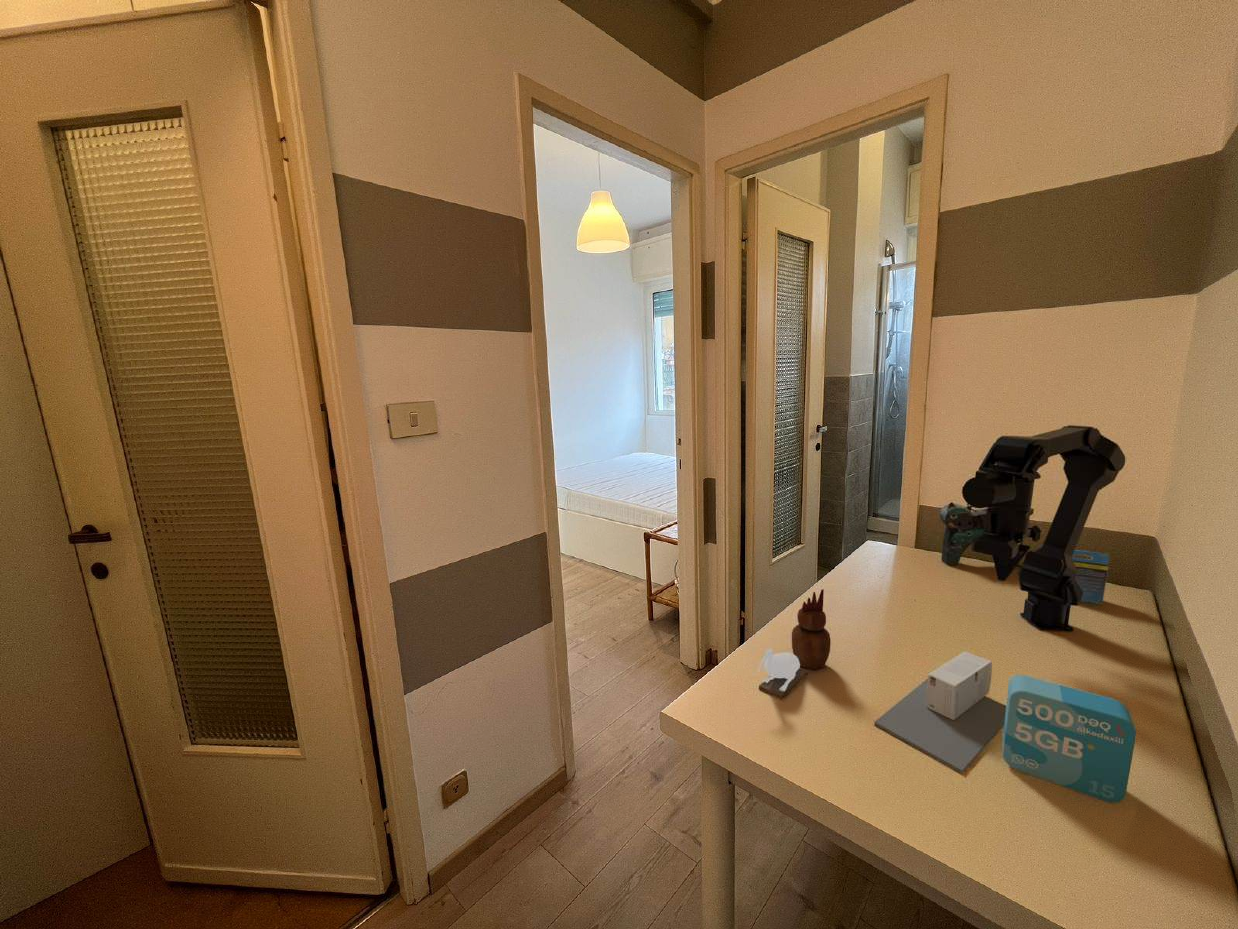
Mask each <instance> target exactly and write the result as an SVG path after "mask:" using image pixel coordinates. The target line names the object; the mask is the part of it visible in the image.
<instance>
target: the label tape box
mask: <svg viewBox="0 0 1238 929" xmlns="http://www.w3.org/2000/svg"><path fill="white" fill-rule="evenodd" d="M1082 555H1083V556H1085V557H1088V558H1082V557H1081V558H1080V556H1082ZM1075 556H1079V557H1075ZM1072 558H1073V561H1074V564H1075V567H1076V569H1077V575H1076V578H1075V580H1076V582H1077V583H1078V585H1079V586H1080V588H1081V589H1082V591H1083V595H1082V599H1081V601H1080V602H1082V603H1088V602H1090V603H1089V604H1094V603H1095V605H1100V604H1101V605H1102V606H1103V602H1104V596H1105V591H1106V585H1107V579H1108V574H1109V569H1110V567H1109V566H1110V565H1109V563H1110V553H1101V552H1094V551H1086V550H1078V549H1075V550H1074V553H1073V555H1072ZM1089 558H1090V559H1089Z"/></svg>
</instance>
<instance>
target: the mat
mask: <svg viewBox="0 0 1238 929" xmlns="http://www.w3.org/2000/svg"><path fill="white" fill-rule="evenodd" d="M927 686H928V678H926V679H925V680H924V681H922V682H921V684H919V685H918V686H916V687H915V688H914V689H913V690H912V691H911V692H909V693H908V694H907V695H905V696H904V697H903V698H902V699H900V700H899V701H898V702H897V703H896V704H894V706H892V707H890V709H889V710H887V711H885V713H884V714H882V715H881V716H880V717H878V718H877V719H876V720H874V723H873V724H874V726H876V727H878V728H879V729H882V730H883V731H885V732H887V733H889V734H890V735H892V736H894V737H896V738H898V739H899V740H900V741H903V742H904V743H906V744H908V745H910V746H912V747H914V748H915V749H917V750H919V751H921V752H922V753H924V754H926V755H928V756H929V757H930V758H931V757H932V758H933V759H935V760H937V761H939V763H942V764H944V765H946V766H947V767H949V768H951V769H953V770H955V771H956V772H958V773H959V774H963V773H964V772H965V771H966V769H967V768H969V766H970V765H971V764H972V763H973V762H974V761H975V760H976V759H977V757H978V756H979V755H980V754H981V753H982V752H983V750H984V749H985V748H986V747H987V746H988V745H989V743H991V741H992V740H993V739H994V738H995V736H997V735H998V733H999V732H1000V731H1001V730H1002V729H1003V728H1004V721H1005V713H1006V704H1003V703H1001V702H998V701H996V700H994V699H993V698H989V697H987V696H984V697H983V698H982V699H980V700H979V701H978V702H976V703H975V704H974V705H973V706H971V707H970V708H969V709H967V710H966V711H965V712H964V713H962V714H961V715H960V716H958V717H957V718H956V719H955V720H952V719H950V718H948V717H945V716H943V715H941V714H939V713H937V712H935V711H933V710H931V709H929V708H927V707H926V702H927V694H926V689H927Z"/></svg>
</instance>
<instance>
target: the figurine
mask: <svg viewBox="0 0 1238 929" xmlns="http://www.w3.org/2000/svg"><path fill="white" fill-rule="evenodd" d="M762 665H763V670H765V672H766V673H767V674H768V675H769V676H768V677H767V678H764V679H763V680H761V681H762V683H760V684H759V686H758V690H761V691H762V692H764V691H765V692H764V693H766V692H767V694H769V695H770V696H771V695H772V696H773V697H775V698H778V699H780V700H785V698H786V697H787V696H788V695H789V694H790V693H791V692H792V691H793V690H794V689H795V688H796V687H797V686H798V685H799V684H800V683H801V682H802V681H803V680H804V679H805V678H806V677H807V676H808V674H809V673H808V672H809V671H808V670H806V669H803V668H801V667H800V666H801V665H800V663H799V659H798V658H797V657H796V656H795V655H794V654H793V653H791V652H776V653H774V650H773V649H772V648H767V649H766V650H765V654H764V655H763V657H762V659H761V661H760V663H759V666H758V670H757V676H759V674H760V670H761V667H762ZM806 675H807V676H806ZM805 676H806V677H805ZM804 677H805V678H804ZM803 678H804V679H803ZM800 681H801V682H800ZM799 682H800V683H799ZM797 684H798V685H797Z"/></svg>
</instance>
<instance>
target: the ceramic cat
mask: <svg viewBox="0 0 1238 929" xmlns="http://www.w3.org/2000/svg"><path fill="white" fill-rule="evenodd" d="M966 504H967V505H966V506H963V505H961V504H957V503H954V502H952V501H951V502H949V503H948V504H946V505H944V506H943V507H941V510H940V513H939V516H940V517H939V518H940V520H941V522H942V523H943V524H944V525H945V530H944V533H943V538H942V548H941V561H942V563H944V564H945V565H946V566H947V567H948V566H952V567H953V566H954V567H957V566H959V565H960V560H961V558H962V556H963V553H964V552H965V550H967V548H969V547H970V546H971V545H972V540H974V539H976V538H977V537H979V536H981V535H983V534H988V533H983V529H982V530H972V531H966V532H959V530H958V527H957V526H954V522H955V519H954V518H955V517H956V516H957V515H958V513H960V512H963V513H965V512H968V511H969V512H970V513H973V512H981V511H987V508H988V507H987V508H977V509H974V508H973V507H972V506H970V505H969V504H968V503H967V502H966ZM990 535H994V534H990ZM1019 541H1022V542H1021V544H1022V545H1023V542H1024V539H1023V540H1019Z"/></svg>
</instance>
